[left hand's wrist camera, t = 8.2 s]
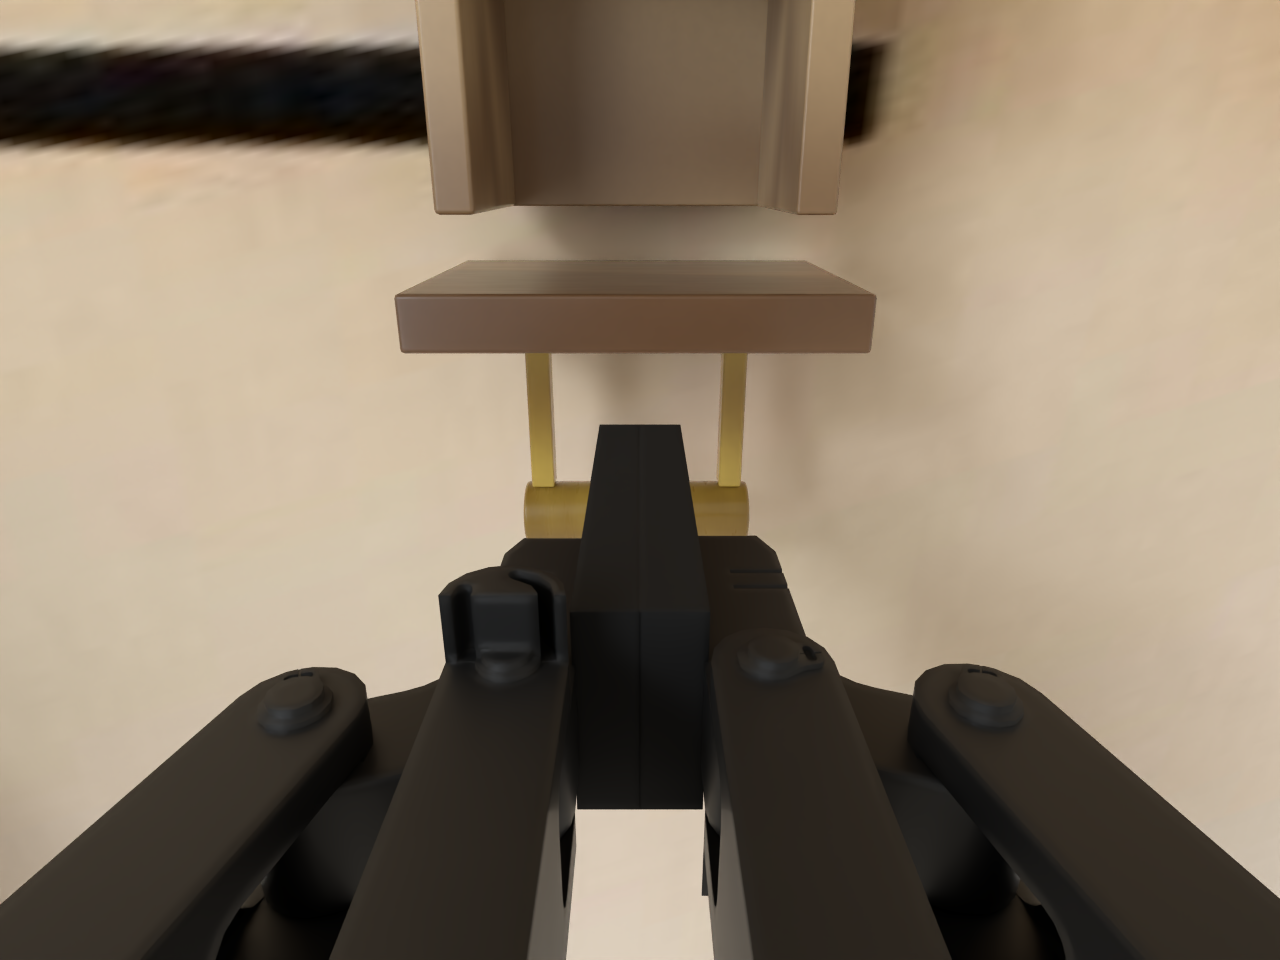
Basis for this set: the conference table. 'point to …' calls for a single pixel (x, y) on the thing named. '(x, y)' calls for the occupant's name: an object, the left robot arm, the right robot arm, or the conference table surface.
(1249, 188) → the conference table surface
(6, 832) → the conference table surface
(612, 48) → the drawer
